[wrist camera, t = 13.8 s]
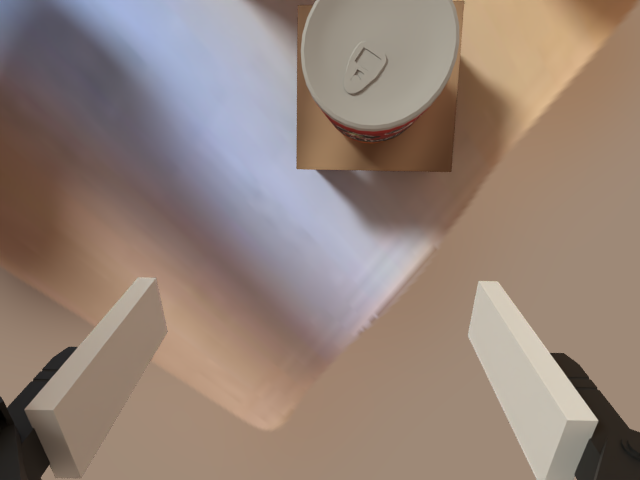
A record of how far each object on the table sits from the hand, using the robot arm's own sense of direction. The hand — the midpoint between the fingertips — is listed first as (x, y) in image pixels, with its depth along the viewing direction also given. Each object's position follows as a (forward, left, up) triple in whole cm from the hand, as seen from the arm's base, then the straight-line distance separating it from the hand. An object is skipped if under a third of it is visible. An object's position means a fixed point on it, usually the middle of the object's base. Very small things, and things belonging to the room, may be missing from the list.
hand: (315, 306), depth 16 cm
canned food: (+2, +12, -16) cm, 20 cm away
